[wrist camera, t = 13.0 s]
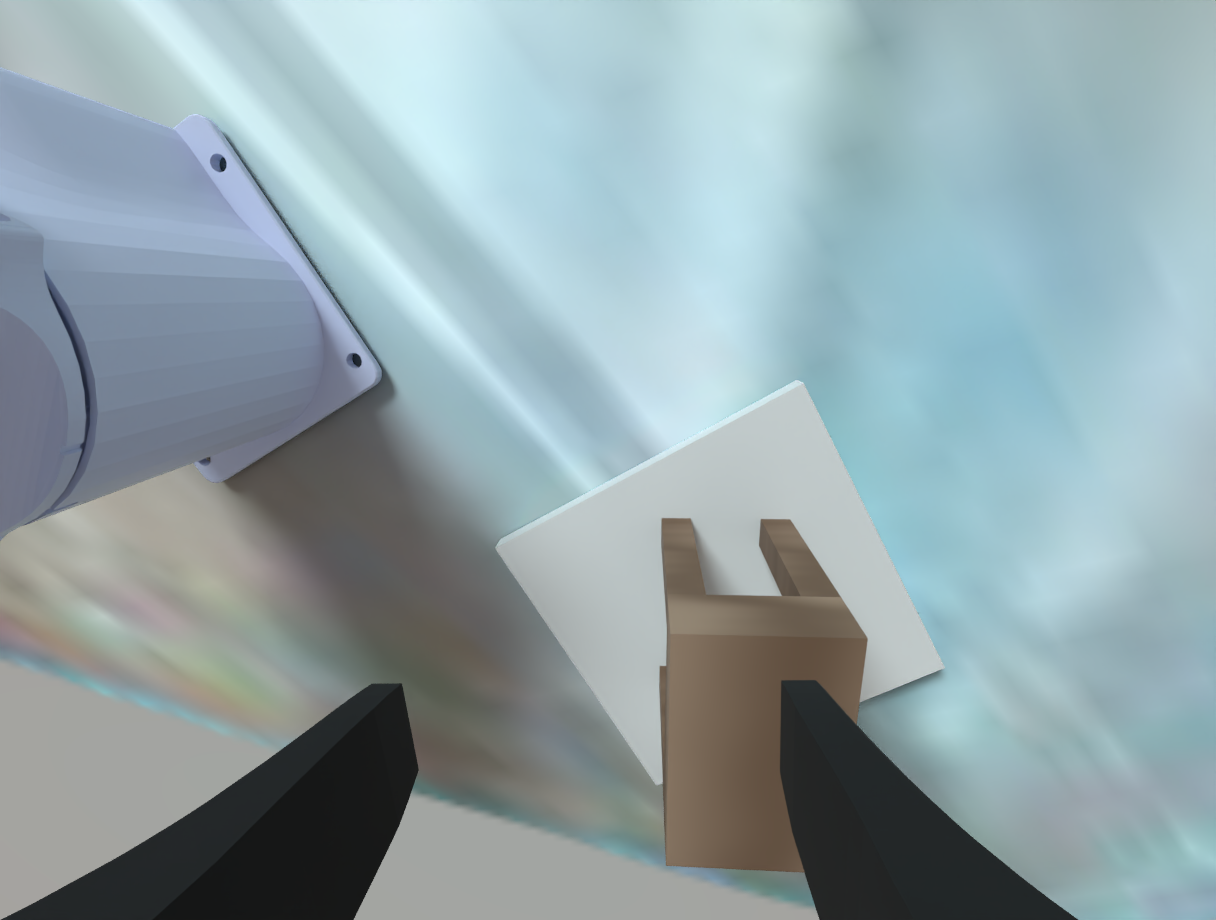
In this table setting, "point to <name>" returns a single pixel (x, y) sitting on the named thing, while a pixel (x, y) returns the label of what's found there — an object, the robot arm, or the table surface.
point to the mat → (710, 556)
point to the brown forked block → (743, 696)
